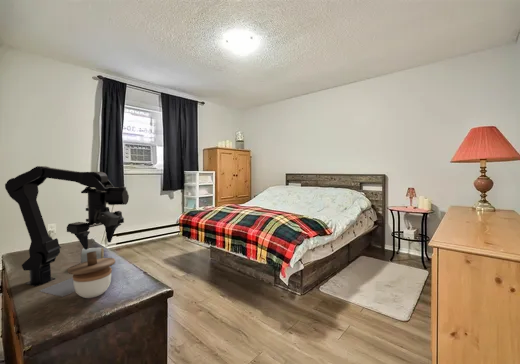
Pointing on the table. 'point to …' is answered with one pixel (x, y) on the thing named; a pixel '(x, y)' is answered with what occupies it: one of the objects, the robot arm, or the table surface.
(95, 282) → the lidded jar
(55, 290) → the mat
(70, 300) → the table surface
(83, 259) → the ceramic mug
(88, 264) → the lid
